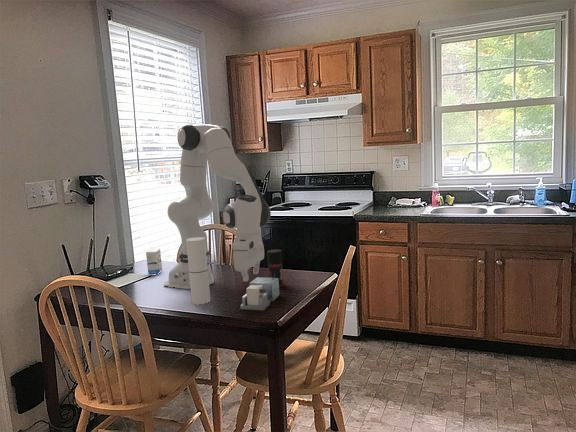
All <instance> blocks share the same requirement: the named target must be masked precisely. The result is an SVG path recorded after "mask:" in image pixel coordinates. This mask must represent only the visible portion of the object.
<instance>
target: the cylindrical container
mask: <svg viewBox="0 0 576 432" xmlns="http://www.w3.org/2000/svg"><path fill="white" fill-rule="evenodd" d="M186 245H187V256H188V266H189V277H190V287H191V289H190V297H191V304H193V305H198V306H199V304H201V305H205V303H206V304H208V302H209V303H210V302H211V292H210V291H211V290H210V285H209V279H208V267H207V256H206V245H205V238H204V237H195V238H189V239H186Z"/></svg>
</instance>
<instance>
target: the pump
mask: <svg viewBox="0 0 576 432" xmlns="http://www.w3.org/2000/svg"><path fill="white" fill-rule="evenodd" d="M245 292H246V294H247V303H248V304H249V305H259V297H260V296H261V295H263V293H266V289H262V285H250V284H249V286H248V287H247V288H246V291H245Z"/></svg>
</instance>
